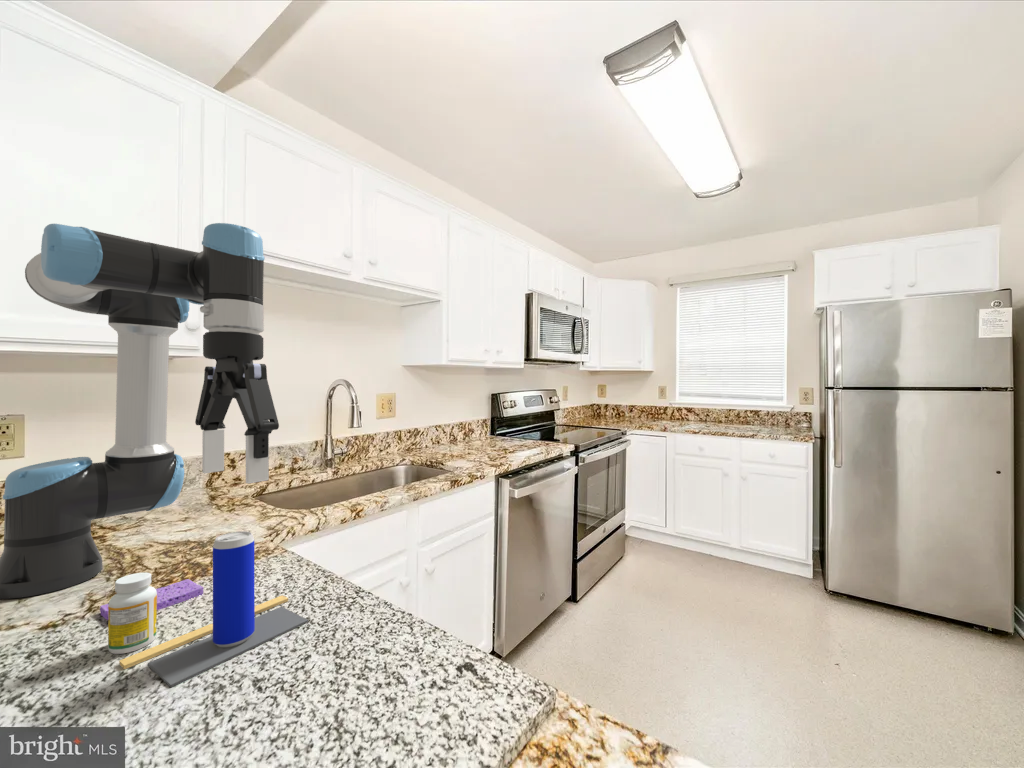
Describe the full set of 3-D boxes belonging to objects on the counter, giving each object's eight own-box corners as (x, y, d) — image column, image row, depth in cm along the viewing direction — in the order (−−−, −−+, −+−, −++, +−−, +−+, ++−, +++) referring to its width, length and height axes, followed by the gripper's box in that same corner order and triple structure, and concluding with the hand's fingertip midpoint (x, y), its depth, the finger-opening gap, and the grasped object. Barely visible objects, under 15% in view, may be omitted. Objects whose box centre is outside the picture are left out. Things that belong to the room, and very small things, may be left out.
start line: (119, 664, 58) (119, 660, 58) (282, 598, 77) (282, 595, 77) (124, 669, 57) (124, 665, 57) (288, 601, 75) (288, 598, 75)
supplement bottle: (134, 655, 60) (135, 586, 60) (96, 655, 60) (97, 586, 60) (166, 633, 66) (166, 570, 66) (131, 633, 66) (131, 570, 66)
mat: (147, 665, 58) (147, 663, 58) (281, 608, 73) (281, 606, 73) (170, 687, 53) (170, 685, 53) (308, 621, 68) (308, 619, 68)
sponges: (203, 597, 78) (203, 586, 78) (111, 629, 68) (111, 617, 68) (188, 587, 82) (188, 577, 82) (99, 616, 72) (99, 605, 72)
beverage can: (246, 625, 67) (246, 528, 67) (260, 637, 64) (260, 534, 64) (207, 640, 63) (207, 537, 63) (219, 653, 60) (219, 544, 60)
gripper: (170, 336, 68) (170, 472, 67) (248, 321, 54) (248, 492, 54) (223, 340, 74) (223, 464, 74) (306, 328, 60) (306, 481, 60)
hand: (234, 476), depth 64 cm, fingers open, 13 cm apart
